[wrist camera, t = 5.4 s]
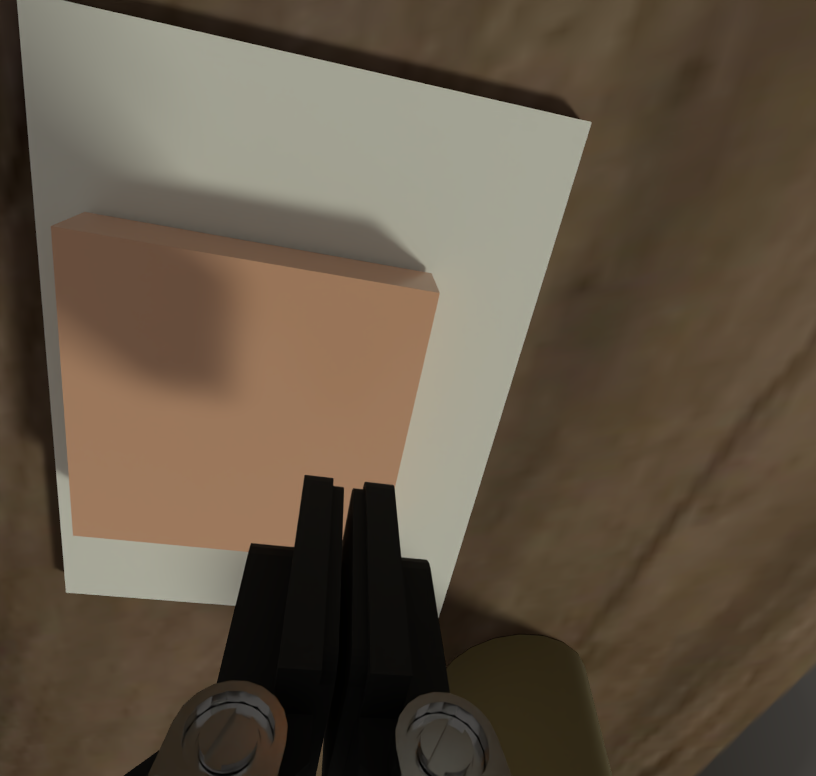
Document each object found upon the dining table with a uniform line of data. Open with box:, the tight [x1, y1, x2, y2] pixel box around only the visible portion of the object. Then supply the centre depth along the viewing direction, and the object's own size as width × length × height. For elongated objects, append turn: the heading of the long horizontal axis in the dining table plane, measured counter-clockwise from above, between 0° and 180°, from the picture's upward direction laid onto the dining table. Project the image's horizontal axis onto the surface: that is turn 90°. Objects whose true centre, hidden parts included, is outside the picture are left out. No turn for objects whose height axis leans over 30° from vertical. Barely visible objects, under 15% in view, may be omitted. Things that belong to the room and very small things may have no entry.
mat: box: [17, 0, 592, 618], centre depth 16 cm, size 16×12×1 cm
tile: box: [51, 212, 440, 552], centre depth 15 cm, size 8×2×8 cm
